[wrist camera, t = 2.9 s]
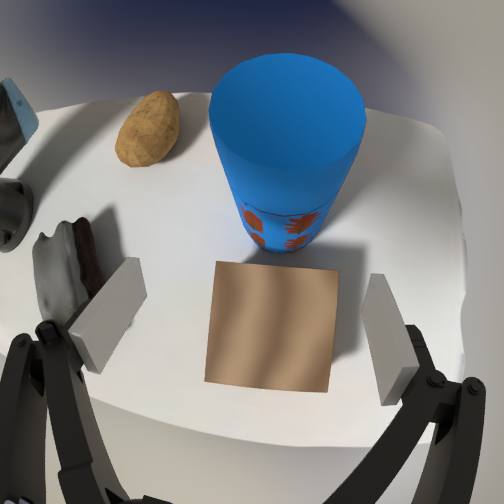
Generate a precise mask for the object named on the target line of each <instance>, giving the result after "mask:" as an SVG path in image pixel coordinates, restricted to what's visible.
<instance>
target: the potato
mask: <svg viewBox="0 0 504 504" xmlns="http://www.w3.org/2000/svg"><path fill="white" fill-rule="evenodd" d="M179 128H180V118H179V106H178V103H177V100H176V99H175V97H174V96H173V95H172V94H171V93H170V92H169V91H155V92H153V93H152V94H150V95H148V96H146V97H145V98H144V99H143V100H142V101H141V102H140V103H139V104H138V105H137V107H136V108H135V109H134V110H133V111H132V112H131V114H130V115H129V117H128V118H127V119H126V121H125V122H124V124H123V126H122V128H121V129H120V131H119V134H118V138H117V142H116V145H115V151H116V154H117V156H118V158H119V159H120V161H121V162H123V163H124V164H126V165H128V166H129V167H148V166H150V165H153V164H155V163H157V162H159V161H160V160H161V159H162V158H163V157H165V156H166V154H167V153H168V152H169V151H170V149H171V148H172V147H173V145H174V144H175V142H176V141H177V138H178V133H179Z"/></svg>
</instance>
